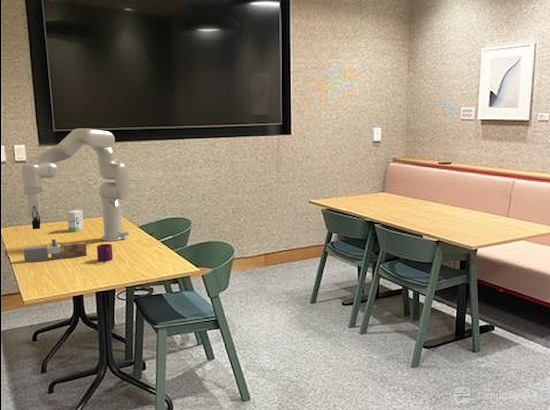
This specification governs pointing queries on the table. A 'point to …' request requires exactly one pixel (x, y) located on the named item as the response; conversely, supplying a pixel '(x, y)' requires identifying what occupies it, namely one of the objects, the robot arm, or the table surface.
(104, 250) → the mug
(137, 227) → the table surface
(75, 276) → the table surface
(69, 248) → the walnut hinge leaf
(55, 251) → the charcoal hinge leaf
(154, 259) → the table surface
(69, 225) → the ink box
